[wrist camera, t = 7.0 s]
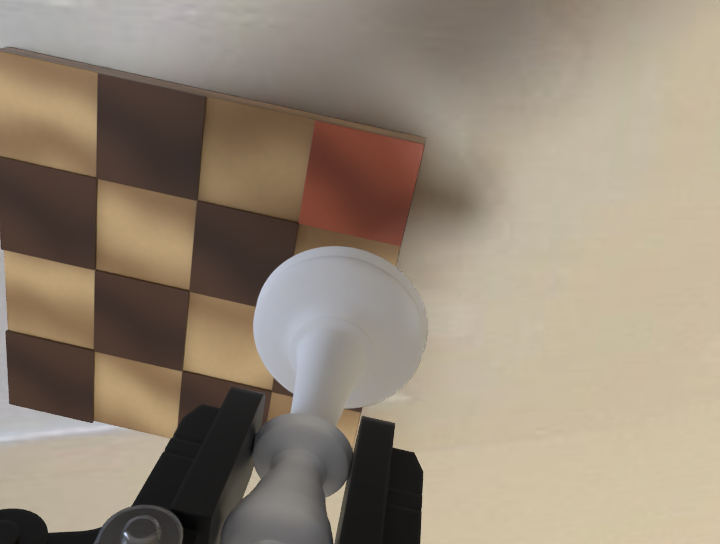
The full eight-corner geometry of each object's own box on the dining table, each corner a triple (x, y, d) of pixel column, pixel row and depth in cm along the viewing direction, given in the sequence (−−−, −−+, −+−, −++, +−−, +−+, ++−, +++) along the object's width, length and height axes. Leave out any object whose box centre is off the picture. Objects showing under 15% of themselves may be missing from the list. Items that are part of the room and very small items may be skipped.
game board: (8, 46, 31) (-11, 49, 29) (425, 137, 30) (424, 144, 29) (23, 390, 39) (9, 403, 38) (348, 465, 39) (344, 481, 38)
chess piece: (258, 233, 18) (66, 507, 9) (439, 258, 17) (433, 566, 8) (254, 384, 20) (96, 729, 11) (416, 408, 20) (391, 783, 11)
